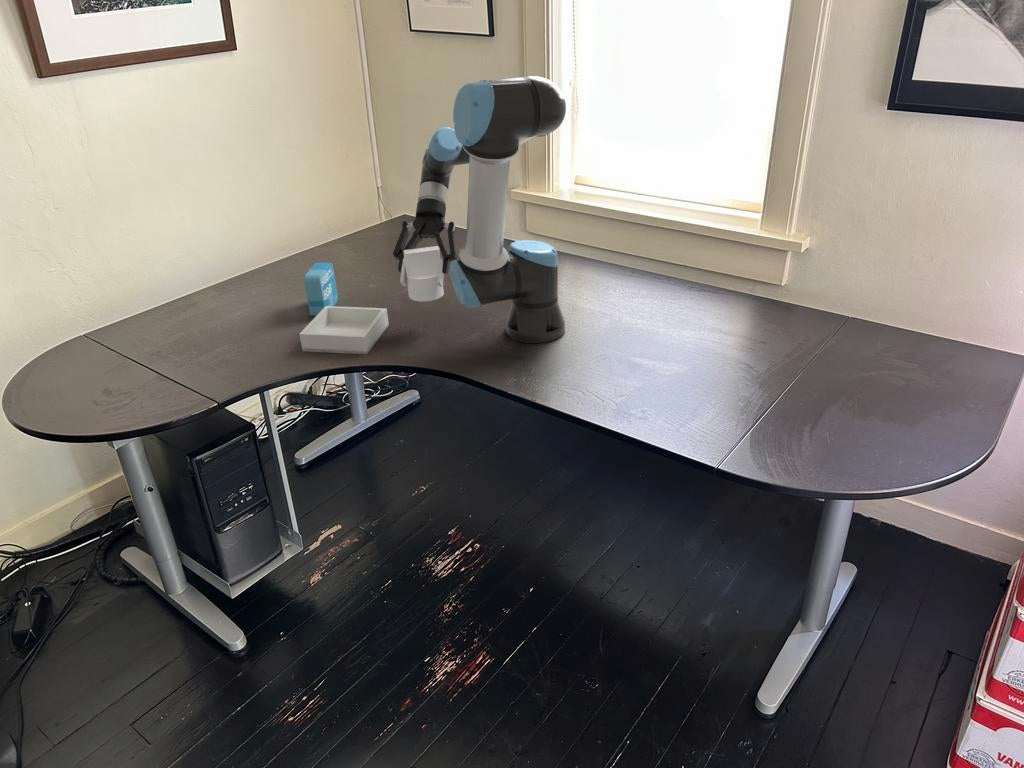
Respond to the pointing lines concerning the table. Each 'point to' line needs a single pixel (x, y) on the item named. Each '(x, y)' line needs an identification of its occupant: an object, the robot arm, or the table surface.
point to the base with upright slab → (423, 273)
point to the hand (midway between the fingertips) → (421, 284)
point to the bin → (344, 330)
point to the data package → (320, 287)
